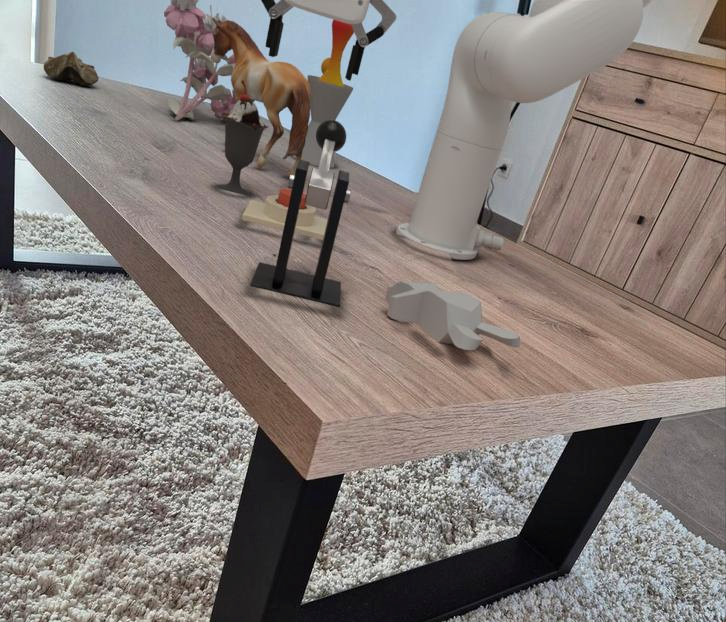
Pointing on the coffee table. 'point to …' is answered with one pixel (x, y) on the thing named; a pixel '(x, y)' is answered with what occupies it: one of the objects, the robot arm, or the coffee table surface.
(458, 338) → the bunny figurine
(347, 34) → the lava lamp
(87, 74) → the fossilized seashell
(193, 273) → the coffee table surface
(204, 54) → the flower
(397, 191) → the coffee table surface
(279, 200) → the button
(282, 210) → the button block
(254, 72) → the horse figurine
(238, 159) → the sundae
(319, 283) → the lever bracket
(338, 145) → the press lever
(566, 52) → the robot arm
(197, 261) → the coffee table surface
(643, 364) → the coffee table surface
